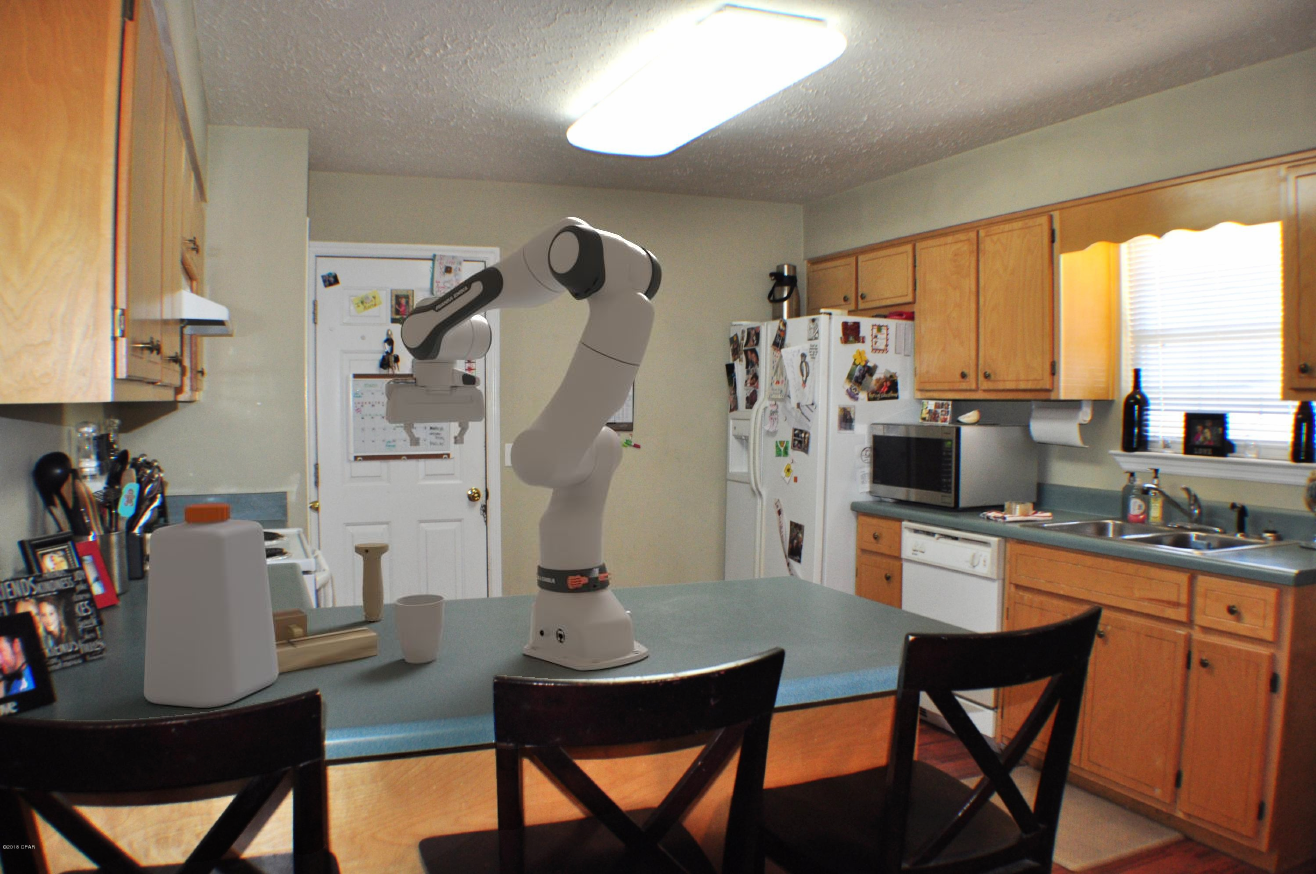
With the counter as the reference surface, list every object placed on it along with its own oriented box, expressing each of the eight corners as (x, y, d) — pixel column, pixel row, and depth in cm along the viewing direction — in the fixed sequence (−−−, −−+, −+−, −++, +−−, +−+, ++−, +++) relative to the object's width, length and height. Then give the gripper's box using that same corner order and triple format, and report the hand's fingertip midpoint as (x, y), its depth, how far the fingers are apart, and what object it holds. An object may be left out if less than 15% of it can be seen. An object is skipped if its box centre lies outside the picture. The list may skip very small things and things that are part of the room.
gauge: (315, 662, 141) (314, 620, 141) (283, 668, 139) (282, 625, 138) (299, 647, 150) (298, 608, 150) (268, 652, 147) (267, 612, 147)
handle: (384, 623, 166) (382, 547, 165) (352, 623, 166) (350, 547, 166) (394, 617, 171) (392, 542, 170) (363, 617, 171) (361, 543, 171)
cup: (427, 649, 148) (425, 592, 148) (456, 657, 143) (454, 598, 142) (385, 660, 142) (384, 600, 141) (414, 669, 137) (413, 607, 136)
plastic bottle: (291, 678, 133) (285, 500, 132) (218, 713, 118) (211, 512, 117) (210, 672, 137) (203, 498, 136) (129, 704, 122) (122, 510, 121)
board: (377, 654, 145) (377, 633, 145) (277, 673, 136) (276, 651, 135) (366, 646, 150) (366, 626, 150) (268, 664, 140) (268, 642, 140)
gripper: (390, 377, 166) (392, 447, 167) (487, 377, 178) (488, 443, 179) (379, 378, 171) (381, 446, 172) (475, 378, 183) (476, 442, 184)
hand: (437, 445), depth 175 cm, fingers open, 8 cm apart
